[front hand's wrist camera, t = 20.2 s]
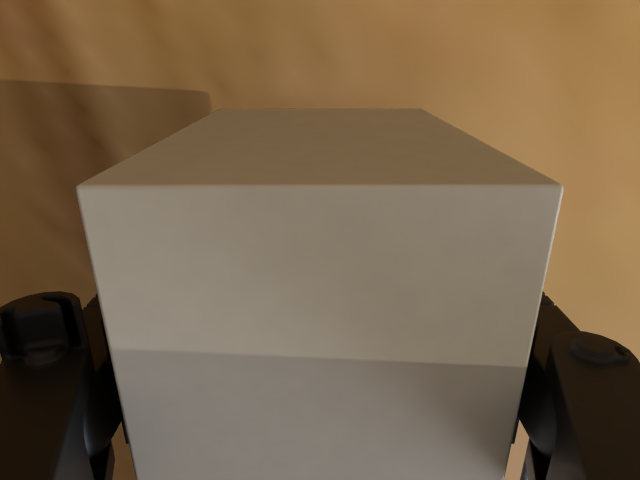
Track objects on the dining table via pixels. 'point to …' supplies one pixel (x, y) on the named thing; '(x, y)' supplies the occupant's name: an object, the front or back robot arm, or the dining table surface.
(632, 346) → the dining table surface
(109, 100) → the dining table surface
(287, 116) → the post
